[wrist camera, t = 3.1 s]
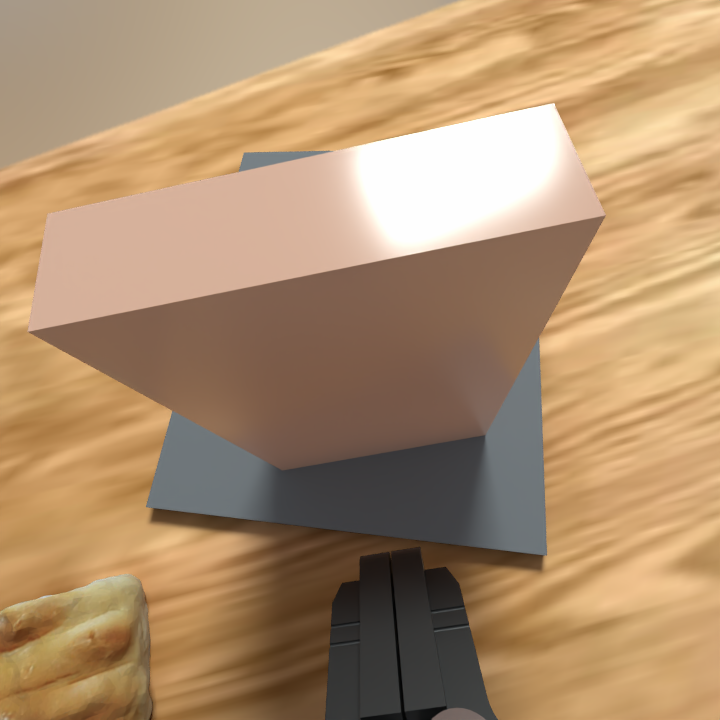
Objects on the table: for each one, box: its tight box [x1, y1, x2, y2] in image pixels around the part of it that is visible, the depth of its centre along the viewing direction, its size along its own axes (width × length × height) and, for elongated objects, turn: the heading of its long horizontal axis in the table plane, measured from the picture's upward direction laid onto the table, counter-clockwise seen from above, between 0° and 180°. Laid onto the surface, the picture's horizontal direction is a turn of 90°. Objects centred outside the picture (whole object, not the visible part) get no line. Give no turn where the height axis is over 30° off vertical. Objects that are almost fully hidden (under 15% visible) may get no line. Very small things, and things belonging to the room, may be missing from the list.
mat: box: [146, 151, 547, 556], centre depth 23 cm, size 17×21×1 cm
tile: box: [28, 103, 606, 471], centre depth 14 cm, size 2×9×14 cm, turn 98°
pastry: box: [0, 574, 152, 720], centre depth 16 cm, size 9×7×4 cm
